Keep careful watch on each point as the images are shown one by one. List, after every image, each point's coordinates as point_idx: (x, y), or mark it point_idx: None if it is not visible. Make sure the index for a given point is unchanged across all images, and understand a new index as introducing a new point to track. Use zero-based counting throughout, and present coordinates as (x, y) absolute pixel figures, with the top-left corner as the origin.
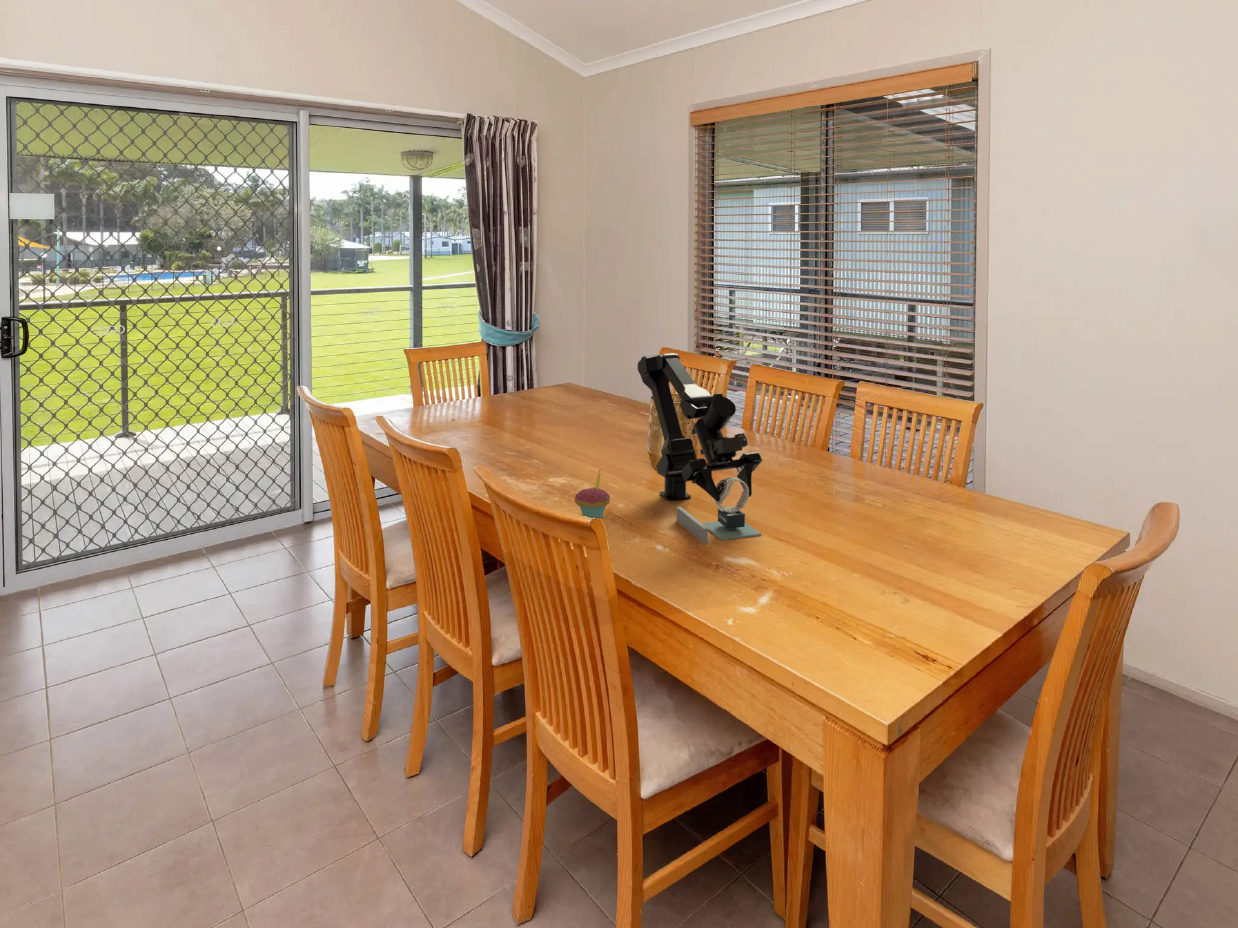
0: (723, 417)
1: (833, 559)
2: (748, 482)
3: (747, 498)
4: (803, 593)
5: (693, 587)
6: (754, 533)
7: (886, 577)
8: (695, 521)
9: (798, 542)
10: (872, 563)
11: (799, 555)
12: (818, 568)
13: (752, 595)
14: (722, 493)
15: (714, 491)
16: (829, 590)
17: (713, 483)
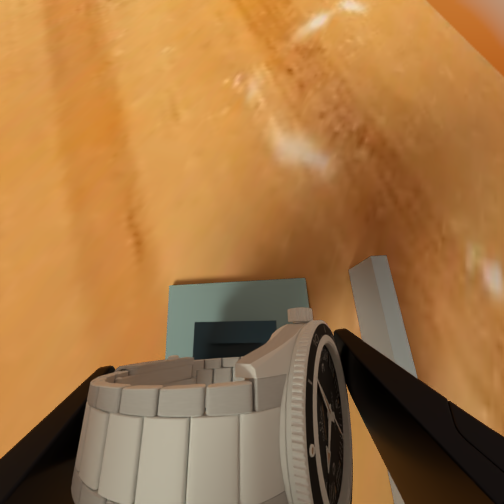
0: None
1: (103, 110)
2: (27, 460)
3: (140, 363)
4: (246, 23)
5: (426, 74)
6: (188, 293)
7: (76, 35)
8: (404, 344)
9: (106, 210)
10: (47, 80)
11: (157, 143)
12: (162, 85)
13: (330, 34)
14: (329, 334)
15: (394, 363)
16: (200, 22)
17: (442, 429)
